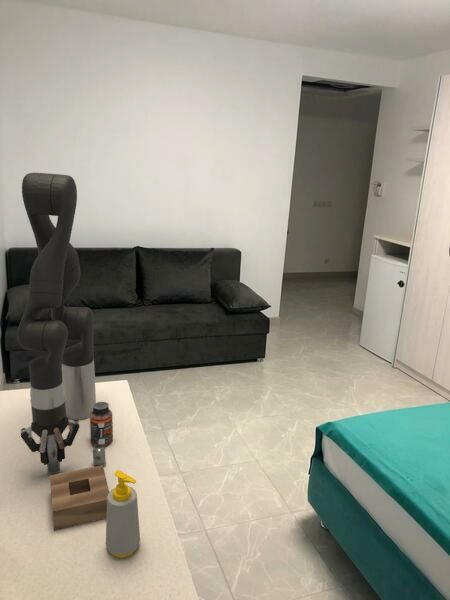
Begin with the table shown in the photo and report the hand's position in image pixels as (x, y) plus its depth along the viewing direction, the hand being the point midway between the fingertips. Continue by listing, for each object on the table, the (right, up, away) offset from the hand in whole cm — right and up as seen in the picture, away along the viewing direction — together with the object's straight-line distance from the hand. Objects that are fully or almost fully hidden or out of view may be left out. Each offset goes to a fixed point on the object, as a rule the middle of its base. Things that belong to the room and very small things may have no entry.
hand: (53, 461), depth 119 cm
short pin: (+10, -3, +5) cm, 12 cm away
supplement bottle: (+8, +1, +14) cm, 17 cm away
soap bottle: (+21, -11, -19) cm, 31 cm away
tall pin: (0, -2, +1) cm, 3 cm away
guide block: (+9, -7, -9) cm, 15 cm away
